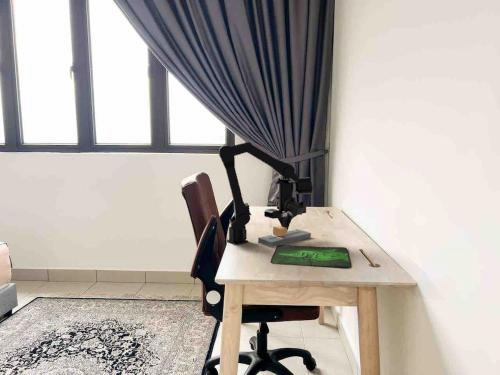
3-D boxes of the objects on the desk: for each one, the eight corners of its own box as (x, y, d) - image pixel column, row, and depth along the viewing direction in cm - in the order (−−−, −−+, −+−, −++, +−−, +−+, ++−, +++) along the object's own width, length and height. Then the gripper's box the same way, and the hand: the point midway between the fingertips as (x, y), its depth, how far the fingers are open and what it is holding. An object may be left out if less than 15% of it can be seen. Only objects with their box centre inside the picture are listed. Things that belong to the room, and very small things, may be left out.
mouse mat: (268, 265, 128) (268, 262, 128) (276, 246, 149) (276, 243, 149) (352, 270, 123) (352, 266, 123) (347, 249, 144) (347, 246, 144)
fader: (280, 237, 151) (281, 228, 151) (273, 234, 155) (273, 226, 154) (286, 236, 153) (286, 227, 153) (278, 233, 157) (278, 225, 156)
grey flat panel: (271, 247, 146) (271, 241, 146) (258, 242, 153) (258, 237, 152) (310, 237, 160) (310, 232, 159) (297, 233, 166) (297, 228, 166)
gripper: (282, 199, 142) (282, 240, 144) (316, 194, 153) (315, 232, 155) (263, 195, 150) (263, 234, 153) (297, 191, 162) (296, 226, 164)
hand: (285, 231), depth 156 cm, fingers closed
